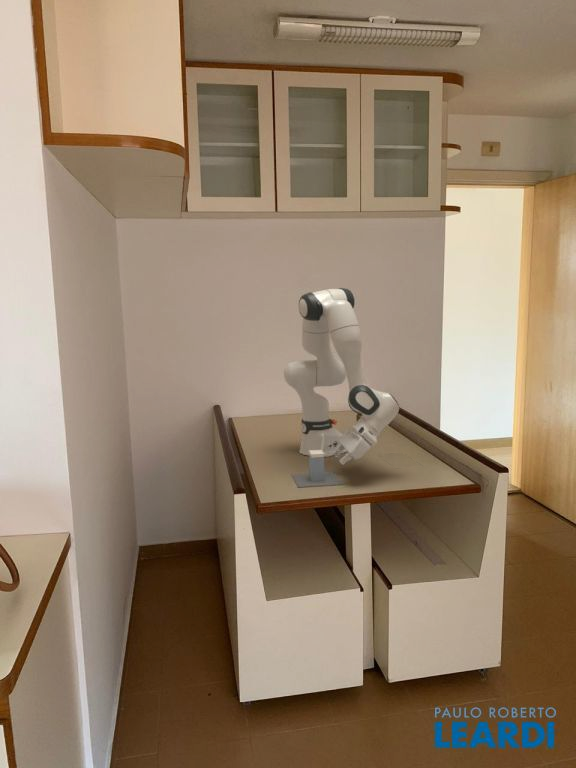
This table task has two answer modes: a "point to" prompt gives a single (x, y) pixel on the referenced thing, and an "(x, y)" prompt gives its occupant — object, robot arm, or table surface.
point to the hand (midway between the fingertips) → (337, 459)
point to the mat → (305, 481)
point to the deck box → (316, 465)
